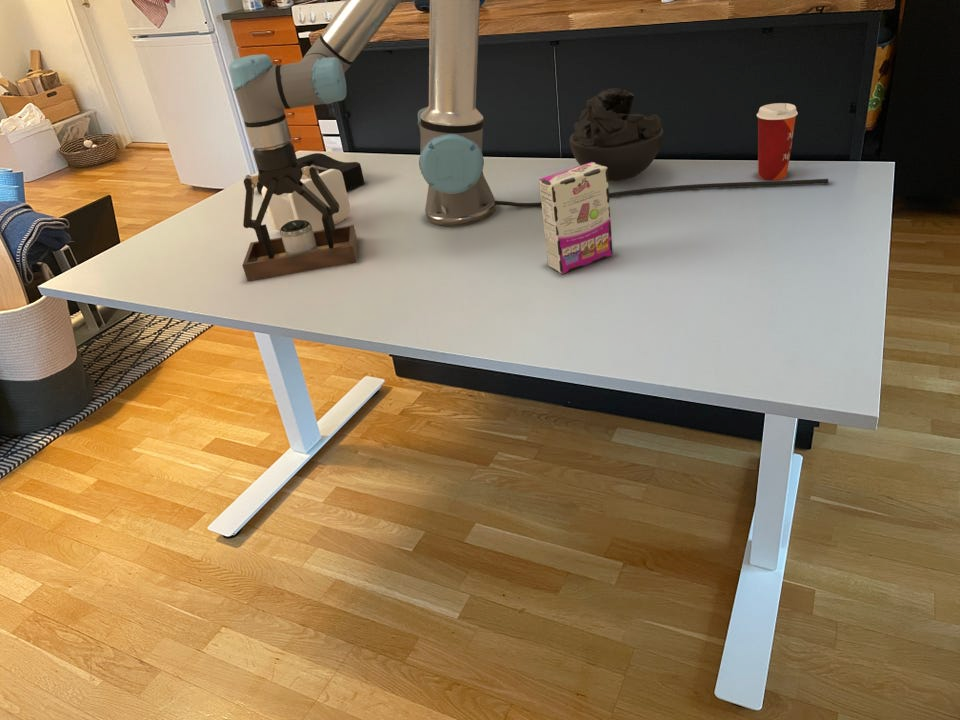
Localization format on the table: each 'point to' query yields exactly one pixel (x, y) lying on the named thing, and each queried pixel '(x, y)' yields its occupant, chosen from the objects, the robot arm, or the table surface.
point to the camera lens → (298, 237)
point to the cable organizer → (300, 209)
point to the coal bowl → (616, 135)
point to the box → (301, 255)
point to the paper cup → (775, 139)
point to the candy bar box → (576, 217)
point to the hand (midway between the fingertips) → (302, 252)
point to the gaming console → (324, 163)
